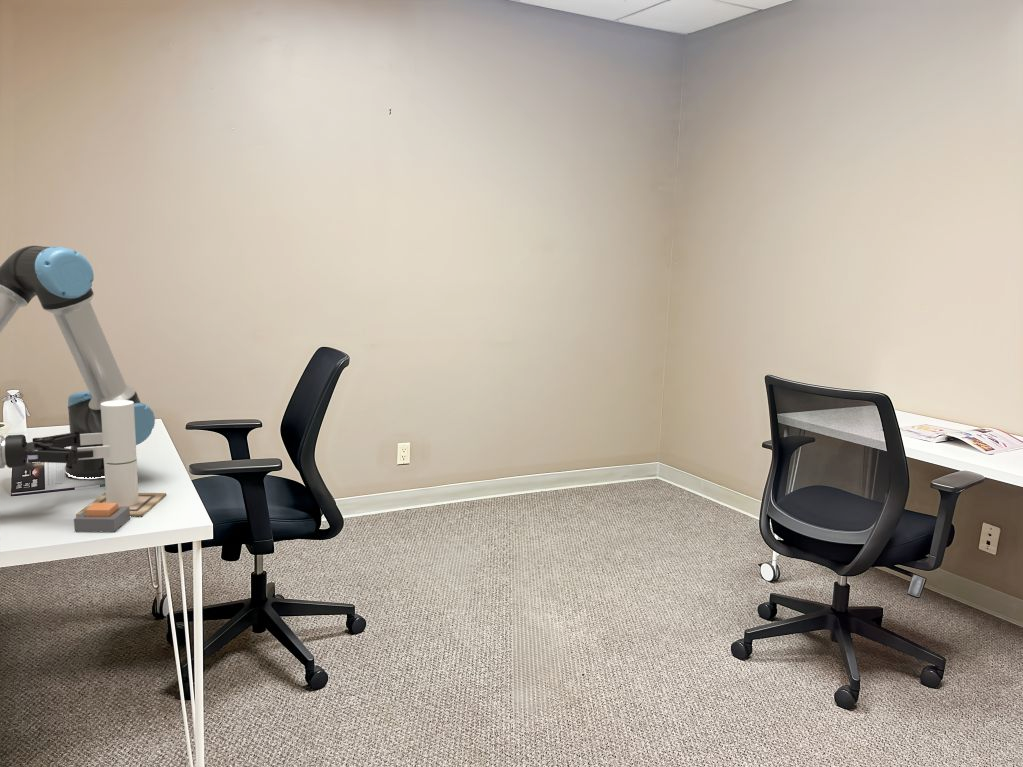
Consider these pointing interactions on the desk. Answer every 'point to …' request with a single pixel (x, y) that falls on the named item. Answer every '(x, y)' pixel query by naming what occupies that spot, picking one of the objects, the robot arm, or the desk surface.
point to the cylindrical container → (120, 452)
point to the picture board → (138, 509)
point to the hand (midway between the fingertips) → (110, 444)
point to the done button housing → (102, 521)
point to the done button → (102, 510)
